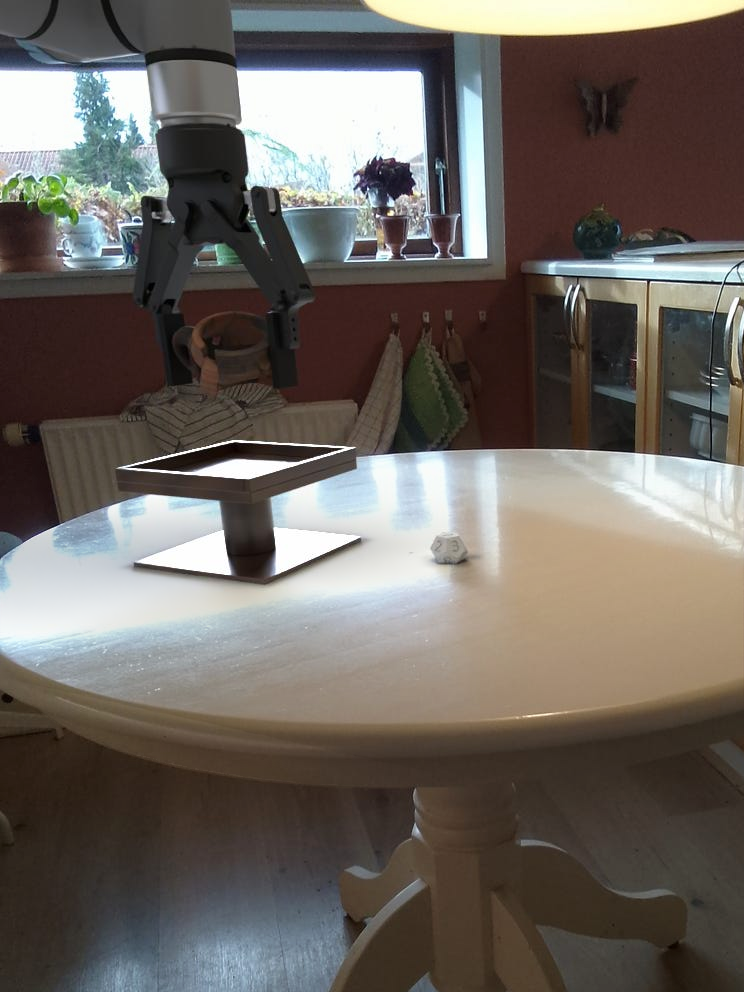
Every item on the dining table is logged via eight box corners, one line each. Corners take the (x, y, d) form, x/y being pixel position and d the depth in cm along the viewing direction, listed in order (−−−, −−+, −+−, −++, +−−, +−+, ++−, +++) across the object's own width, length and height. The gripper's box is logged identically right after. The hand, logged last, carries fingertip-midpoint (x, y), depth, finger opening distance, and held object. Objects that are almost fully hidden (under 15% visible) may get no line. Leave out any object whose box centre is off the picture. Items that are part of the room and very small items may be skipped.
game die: (428, 561, 91) (426, 531, 90) (465, 558, 91) (464, 529, 90) (433, 571, 87) (431, 540, 86) (471, 568, 88) (470, 538, 87)
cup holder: (131, 573, 90) (113, 468, 86) (243, 531, 104) (232, 440, 100) (262, 591, 83) (249, 478, 79) (363, 544, 97) (356, 447, 93)
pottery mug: (309, 391, 91) (302, 317, 85) (262, 448, 86) (250, 372, 79) (202, 359, 93) (187, 284, 87) (149, 413, 88) (129, 336, 81)
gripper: (341, 118, 78) (361, 383, 85) (128, 145, 88) (163, 379, 95) (287, 105, 71) (313, 392, 79) (64, 135, 81) (107, 387, 89)
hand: (231, 386), depth 87 cm, fingers closed on pottery mug, 12 cm apart
